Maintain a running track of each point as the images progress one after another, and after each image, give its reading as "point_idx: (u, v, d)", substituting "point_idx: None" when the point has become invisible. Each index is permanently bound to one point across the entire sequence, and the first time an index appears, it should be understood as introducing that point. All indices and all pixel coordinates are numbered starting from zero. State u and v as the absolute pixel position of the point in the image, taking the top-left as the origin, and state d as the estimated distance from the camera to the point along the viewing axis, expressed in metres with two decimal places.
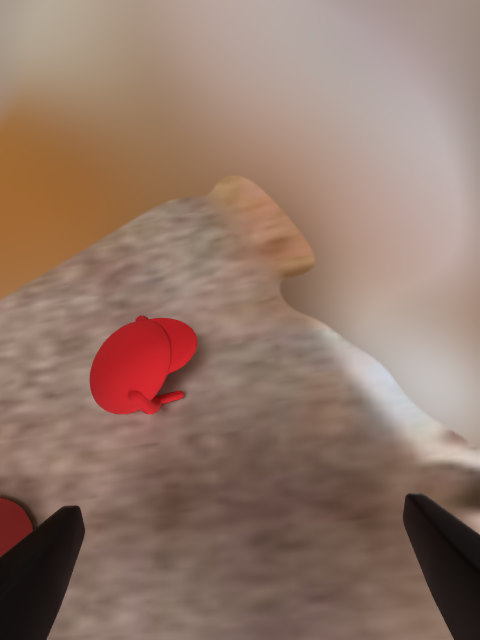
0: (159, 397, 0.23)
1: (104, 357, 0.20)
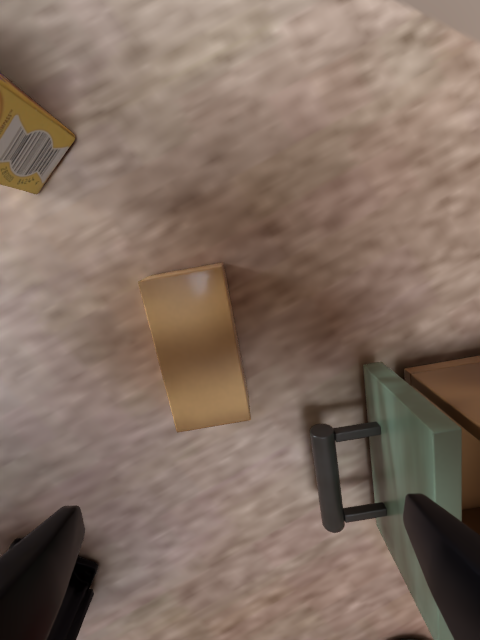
0: None
1: None
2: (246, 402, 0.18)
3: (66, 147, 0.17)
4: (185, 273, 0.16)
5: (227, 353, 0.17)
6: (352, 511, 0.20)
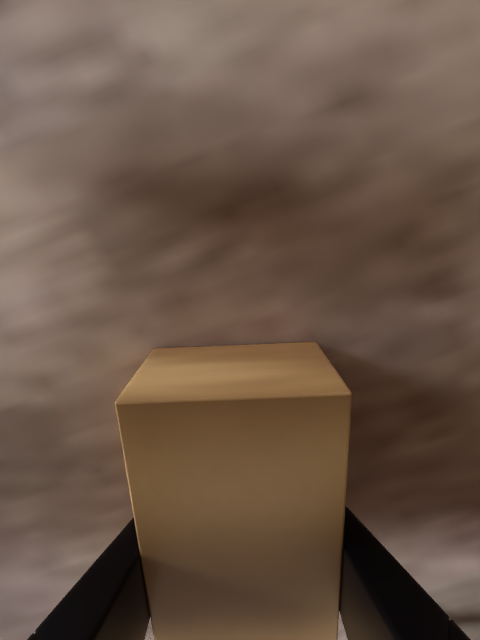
0: None
1: None
2: None
3: None
4: (248, 396, 0.06)
5: (315, 584, 0.07)
6: None
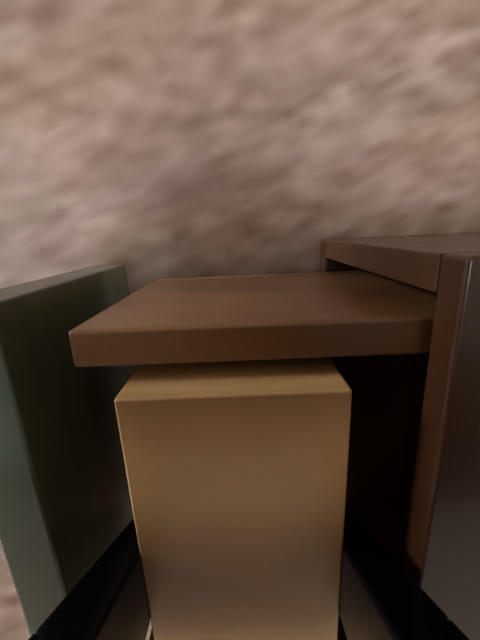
0: None
1: None
2: None
3: None
4: (248, 393, 0.06)
5: (315, 582, 0.07)
6: None
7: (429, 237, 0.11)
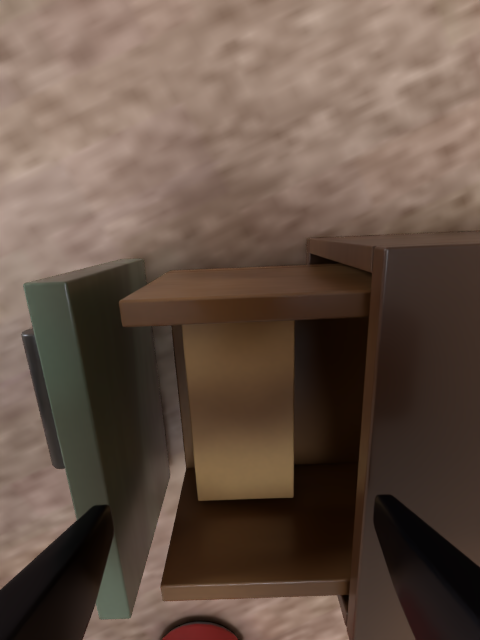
0: None
1: None
2: (292, 476, 0.14)
3: None
4: None
5: (280, 416, 0.13)
6: None
7: (391, 236, 0.14)
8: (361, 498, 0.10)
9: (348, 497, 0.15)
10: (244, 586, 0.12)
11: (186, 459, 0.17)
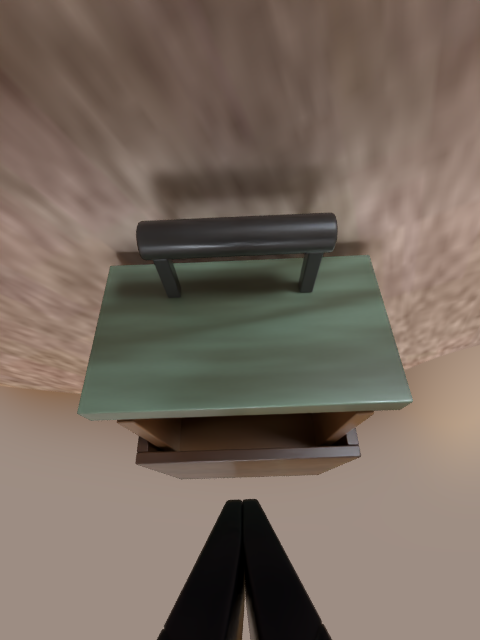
0: None
1: None
2: None
3: None
4: None
5: None
6: (171, 264, 0.13)
7: None
8: (238, 456, 0.20)
9: None
10: (149, 435, 0.17)
11: None
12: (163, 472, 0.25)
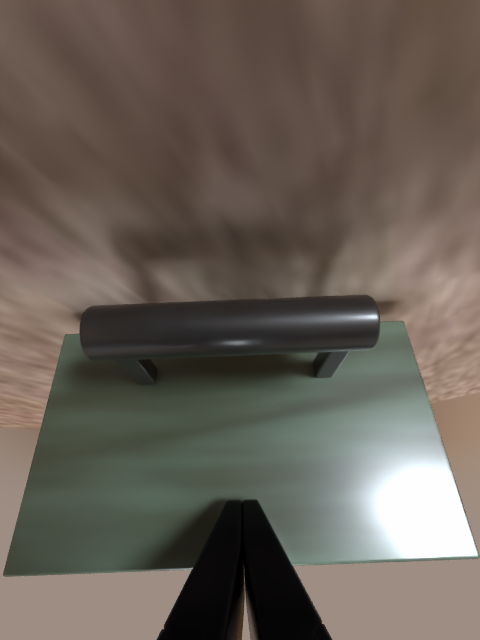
0: None
1: None
2: None
3: None
4: None
5: None
6: None
7: None
8: None
9: None
10: None
11: None
12: None
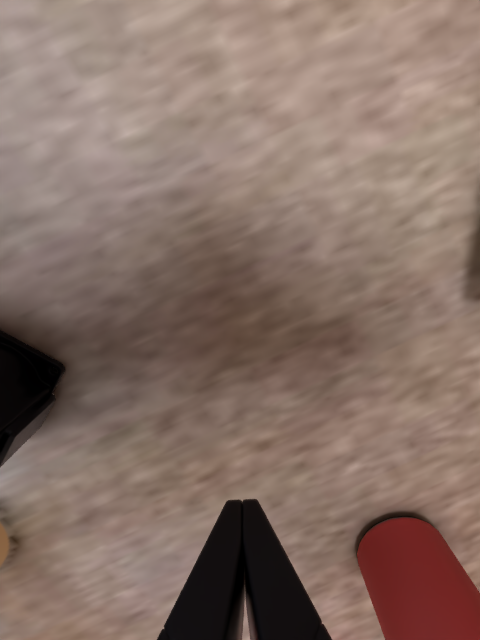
0: None
1: None
2: None
3: None
4: None
5: None
6: None
7: None
8: None
9: None
10: None
11: None
12: None
